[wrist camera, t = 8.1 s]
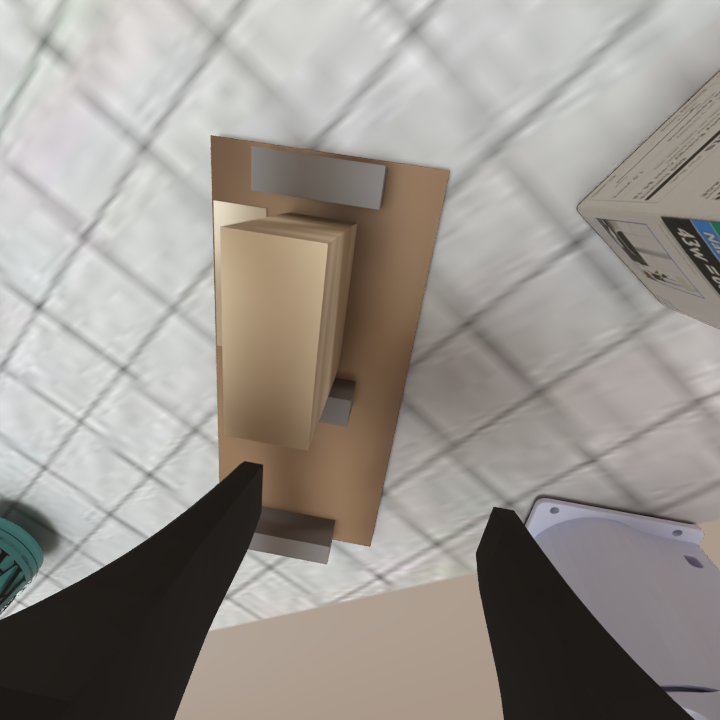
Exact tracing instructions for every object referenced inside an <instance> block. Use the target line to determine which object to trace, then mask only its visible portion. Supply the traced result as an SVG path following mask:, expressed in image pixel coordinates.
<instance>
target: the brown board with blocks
mask: <svg viewBox="0 0 720 720" xmlns="http://www.w3.org/2000/svg"><path fill="white" fill-rule="evenodd" d="M211 168H212V207H213V246H214V285H215V324H216V363H217V402H218V441H219V480H220V482H221V481H222V480H223V479H224V478H225V477H226V476H228V475H229V474H230V473H231V472H232V471H233V470H234V469H235V468H236V467H237V466H238V465H240V464H241V463H242V462H244V461H247V462H253V463H258V464H263V487H262V513H261V516H260V518H259V521H258V524H257V527H256V530H255V532H254V535H253V538H252V541H251V543H250V546H249V548H248V549H250V550H255V551H260V552H266V553H271V554H276V555H281V556H286V557H291V558H297V559H302V560H307V561H312V562H317V563H322V564H327V562H328V557H329V553H330V548H331V543H332V539H333V540H338V541H343V542H348V543H354V544H359V545H364V546H369V547H370V546H371V541H372V536H373V532H374V527H375V522H376V518H377V513H378V508H379V503H380V499H381V494H382V489H383V485H384V480H385V475H386V470H387V466H388V461H389V456H390V451H391V447H392V442H393V437H394V433H395V428H396V423H397V418H398V414H399V409H400V404H401V400H402V395H403V390H404V385H405V381H406V376H407V371H408V366H409V362H410V357H411V352H412V348H413V343H414V338H415V333H416V329H417V324H418V319H419V314H420V310H421V305H422V300H423V296H424V291H425V286H426V281H427V277H428V272H429V267H430V263H431V258H432V253H433V248H434V244H435V239H436V234H437V229H438V225H439V220H440V215H441V211H442V206H443V201H444V196H445V192H446V187H447V182H448V178H449V173H450V171H449V170H442V169H435V168H428V167H421V166H415V165H408V164H401V163H394V162H388V161H381V160H374V159H367V158H361V157H354V156H347V155H340V154H334V153H327V152H320V151H313V150H306V149H300V148H293V147H286V146H279V145H273V144H266V143H259V142H252V141H246V140H239V139H232V138H225V137H219V136H212V135H211ZM289 212H292V213H298V214H305V215H311V216H318V217H324V218H330V219H337V220H343V221H350V222H356V223H357V231H356V239H355V247H354V254H353V262H352V270H351V278H350V286H349V294H348V302H347V310H346V318H345V326H344V334H343V342H342V349H341V357H340V365H339V368H338V371H337V374H336V376H335V379H334V382H333V384H332V387H331V390H330V392H329V395H328V398H327V401H326V403H325V406H324V409H323V411H322V414H321V417H320V419H319V422H318V425H317V427H316V430H315V433H314V436H313V438H312V441H311V444H310V446H309V449H308V451H306V450H301V449H295V448H290V447H284V446H279V445H273V444H268V443H262V442H257V441H251V440H246V439H240V438H235V437H229V436H224V413H223V357H222V302H221V246H220V227H221V226H226V225H231V224H236V223H240V222H245V221H250V220H255V219H260V218H265V217H270V216H275V215H279V214H284V213H289Z"/></svg>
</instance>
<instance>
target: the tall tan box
mask: <svg viewBox="0 0 720 720" xmlns="http://www.w3.org/2000/svg"><path fill="white" fill-rule="evenodd" d="M356 231H357V223H356V222H350V221H343V220H337V219H330V218H324V217H318V216H311V215H305V214H298V213H292V212H289V213H284V214H279V215H275V216H270V217H265V218H260V219H255V220H250V221H245V222H240V223H236V224H231V225H226V226H221V227H220V246H221V302H222V357H223V413H224V436H229V437H235V438H240V439H246V440H251V441H257V442H262V443H268V444H273V445H279V446H284V447H290V448H295V449H301V450H306V451H308V449H309V446H310V444H311V441H312V438H313V436H314V433H315V430H316V427H317V425H318V422H319V419H320V417H321V414H322V411H323V409H324V406H325V403H326V401H327V398H328V395H329V392H330V390H331V387H332V384H333V382H334V379H335V376H336V374H337V371H338V368H339V365H340V357H341V349H342V342H343V334H344V326H345V318H346V310H347V302H348V294H349V286H350V278H351V270H352V262H353V254H354V247H355V239H356Z"/></svg>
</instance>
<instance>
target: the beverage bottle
mask: <svg viewBox="0 0 720 720" xmlns="http://www.w3.org/2000/svg"><path fill="white" fill-rule="evenodd" d="M42 563H43V553H42V550H41V548H40V546H39V545H38V543H37V542H36V541H35V540H34V538H33V537H32V536H31V535H30V534H29V533H27V532H26V531H25V530H24V529H22V528H21V527H19V526H18V525H16V524H14V523H12V522H10V521H8V520H6V519H3V518H0V613H1V612H2V611H4V610H5V609H6V607H5V606H7V605H9V604H10V603H11V602H12V601H13V600H14V598H15V597H16V596H17V595H16V594H17V593H18V592H19V591H21V589H22V588H23V587H24V586H25V585H26V584H30V583H31V582H32V578H33V577H34V576H35V574H36V573H38V570H39V568H40V567H41V565H42ZM36 576H37V574H36ZM35 578H36V577H35ZM29 581H31V582H30V583H28V582H29ZM25 588H26V587H25ZM23 590H24V588H23ZM18 596H19V595H18ZM12 598H13V599H12ZM11 599H12V601H10V600H11ZM3 608H4V610H2V609H3ZM1 610H2V611H1Z"/></svg>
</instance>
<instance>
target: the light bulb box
mask: <svg viewBox="0 0 720 720" xmlns="http://www.w3.org/2000/svg"><path fill="white" fill-rule="evenodd" d="M578 211H579V213H580V214H581V215H582V216H583V217H584V218H585V219H586V220H587V222H588V223H589V224H590V225H591V226H592V227H593V228H594V229H595V231H596V232H597V233H598V234H599V235H600V236H601V237H602V238H603V239H604V241H605V242H606V243H607V244H608V245H609V246H610V247H611V248H612V249H613V251H614V252H615V253H616V254H617V255H618V256H619V257H620V258H621V259H622V260H623V261H624V263H625V264H626V265H627V266H628V267H629V268H630V269H631V270H632V271H633V272H634V274H635V275H636V276H637V277H638V278H639V279H640V280H641V281H642V282H643V283H644V285H645V286H646V287H647V288H648V289H649V290H650V291H651V292H652V293H653V294H654V295H655V297H656V298H657V299H658V300H659V301H660V302H661V303H662V304H663V305H665V306H666V307H668V308H671V309H673V310H675V311H678V312H680V313H683V314H685V315H687V316H690V317H692V318H694V319H697V320H699V321H701V322H703V323H706V324H708V325H710V326H713V327H715V328H717V329H720V72H718V73H717V74H716V75H715V76H714V77H713V78H712V79H711V80H710V81H709V82H708V83H707V84H706V85H705V86H704V87H703V88H702V89H700V90H699V91H698V92H697V93H696V94H695V95H694V96H693V97H692V98H691V99H690V100H689V101H688V102H687V103H686V104H685V105H684V106H683V107H681V108H680V109H679V110H678V111H677V112H676V113H675V114H674V115H673V116H672V117H671V118H670V119H669V120H668V121H667V122H666V123H665V124H664V125H662V126H661V127H660V128H659V129H658V130H657V131H656V132H655V133H654V134H653V135H652V136H651V137H650V138H649V139H648V140H647V141H646V142H645V143H644V144H642V145H641V146H640V147H639V148H638V149H637V150H636V151H635V152H634V153H633V154H632V155H631V156H630V157H629V158H628V159H627V160H626V161H625V162H624V163H623V164H621V165H620V166H619V167H618V168H617V169H616V170H615V171H614V172H613V173H612V174H611V175H610V176H609V177H608V178H607V179H606V180H605V181H604V182H602V183H601V184H600V185H599V186H598V187H597V188H596V189H595V190H594V191H593V192H592V193H591V194H590V195H589V196H588V197H587V198H586V199H585V200H584V201H583V202H581V203H580V204H579V206H578Z"/></svg>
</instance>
